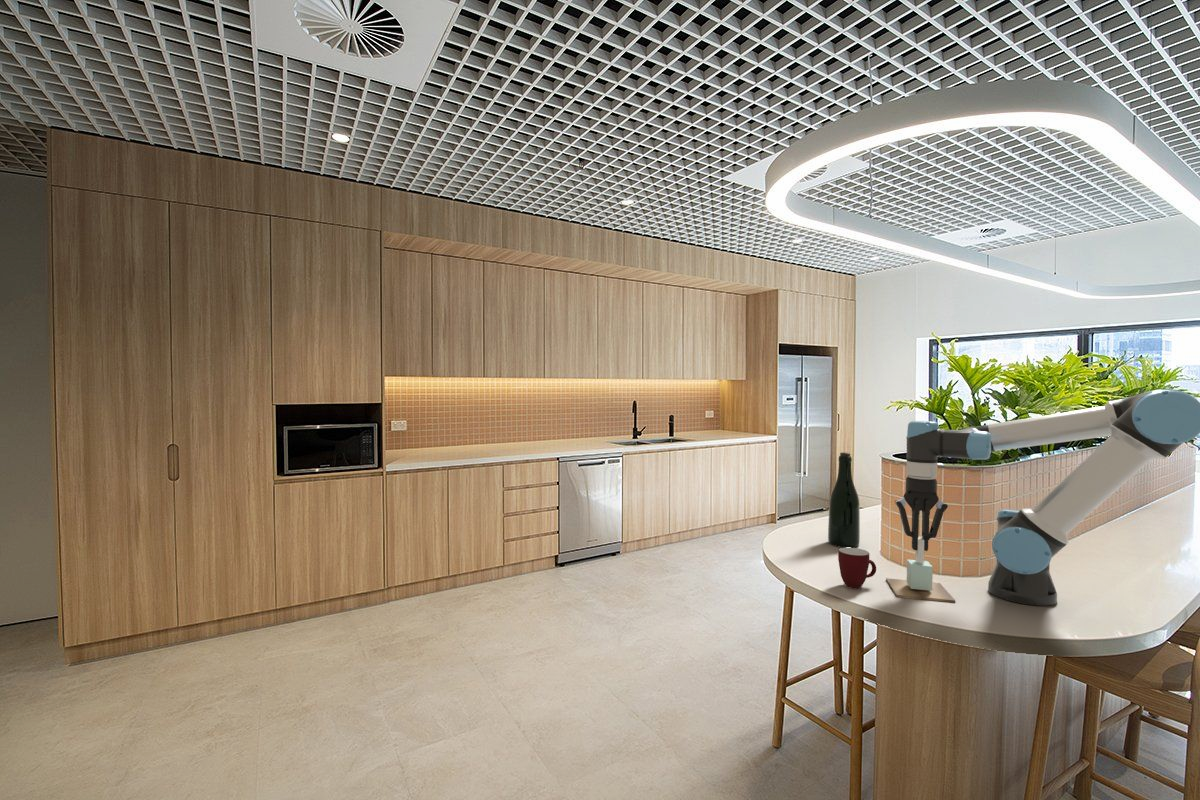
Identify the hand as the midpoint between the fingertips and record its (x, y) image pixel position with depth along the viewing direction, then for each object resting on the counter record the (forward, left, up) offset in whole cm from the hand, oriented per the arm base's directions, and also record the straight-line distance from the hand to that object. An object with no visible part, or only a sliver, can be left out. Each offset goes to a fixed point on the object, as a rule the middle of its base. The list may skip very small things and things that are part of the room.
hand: (919, 561), depth 161 cm
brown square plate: (0, 0, -8) cm, 8 cm away
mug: (+16, +1, -8) cm, 18 cm away
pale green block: (0, 0, -7) cm, 7 cm away
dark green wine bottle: (+14, -45, -8) cm, 48 cm away
